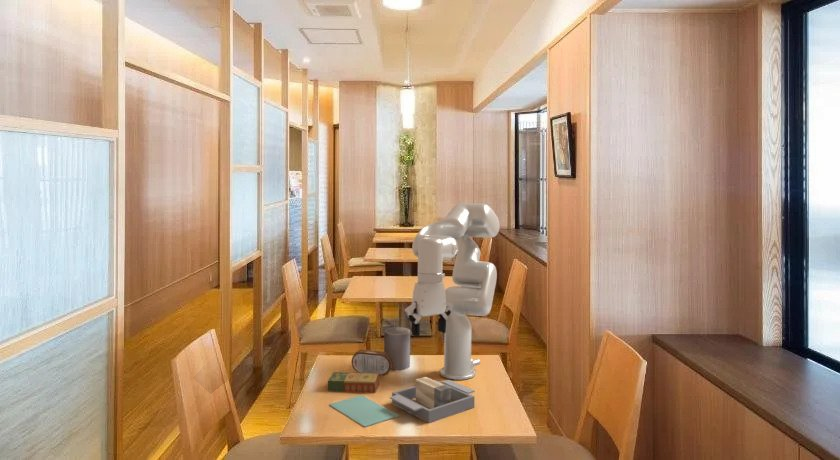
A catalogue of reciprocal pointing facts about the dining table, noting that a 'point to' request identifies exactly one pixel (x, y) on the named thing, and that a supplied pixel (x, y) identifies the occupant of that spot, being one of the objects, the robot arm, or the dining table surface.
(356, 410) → the mat
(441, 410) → the open square frame
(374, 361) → the tin
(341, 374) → the carton
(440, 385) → the block
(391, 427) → the dining table surface
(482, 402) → the dining table surface
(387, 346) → the pillar candle
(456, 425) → the dining table surface
